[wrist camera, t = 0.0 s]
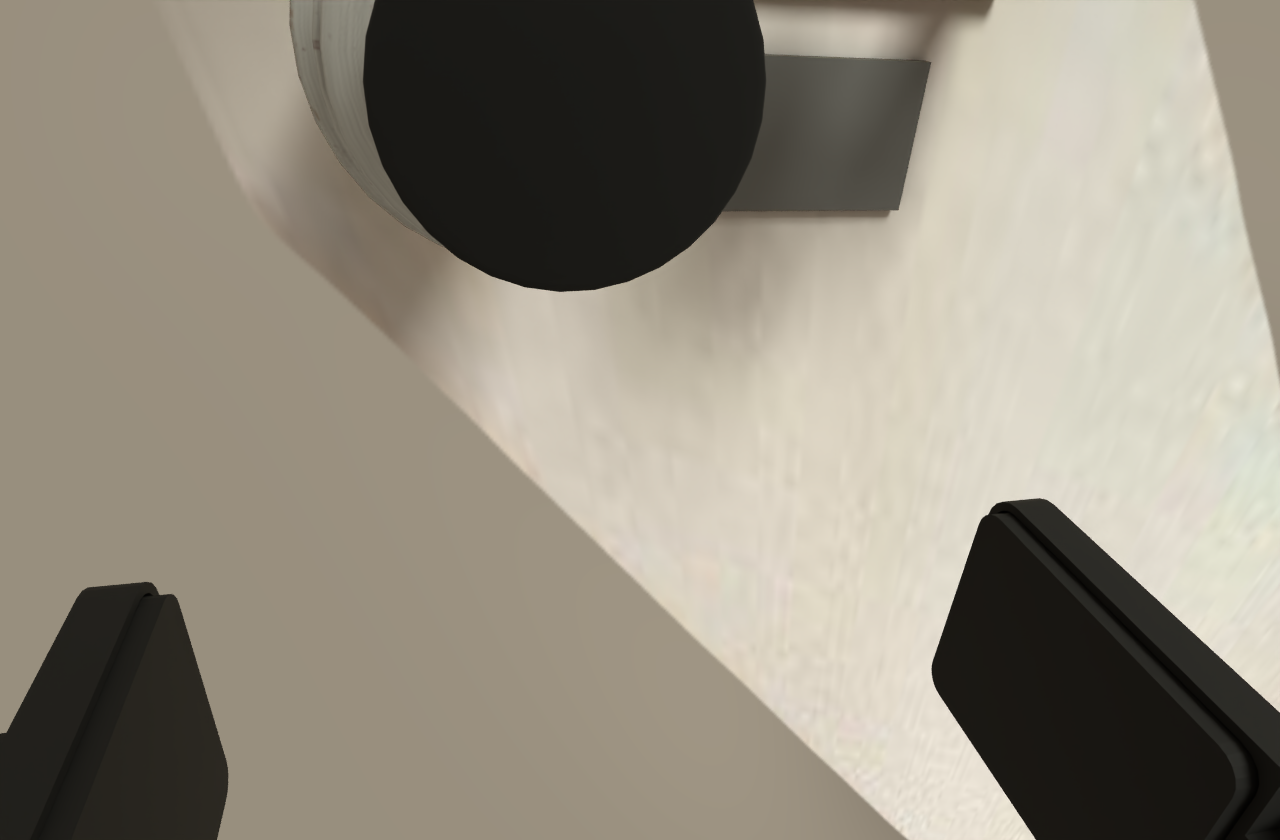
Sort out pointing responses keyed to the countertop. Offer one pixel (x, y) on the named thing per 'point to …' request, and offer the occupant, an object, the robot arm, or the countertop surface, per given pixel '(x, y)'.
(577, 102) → the thermos bottle
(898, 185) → the mat
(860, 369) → the countertop surface
